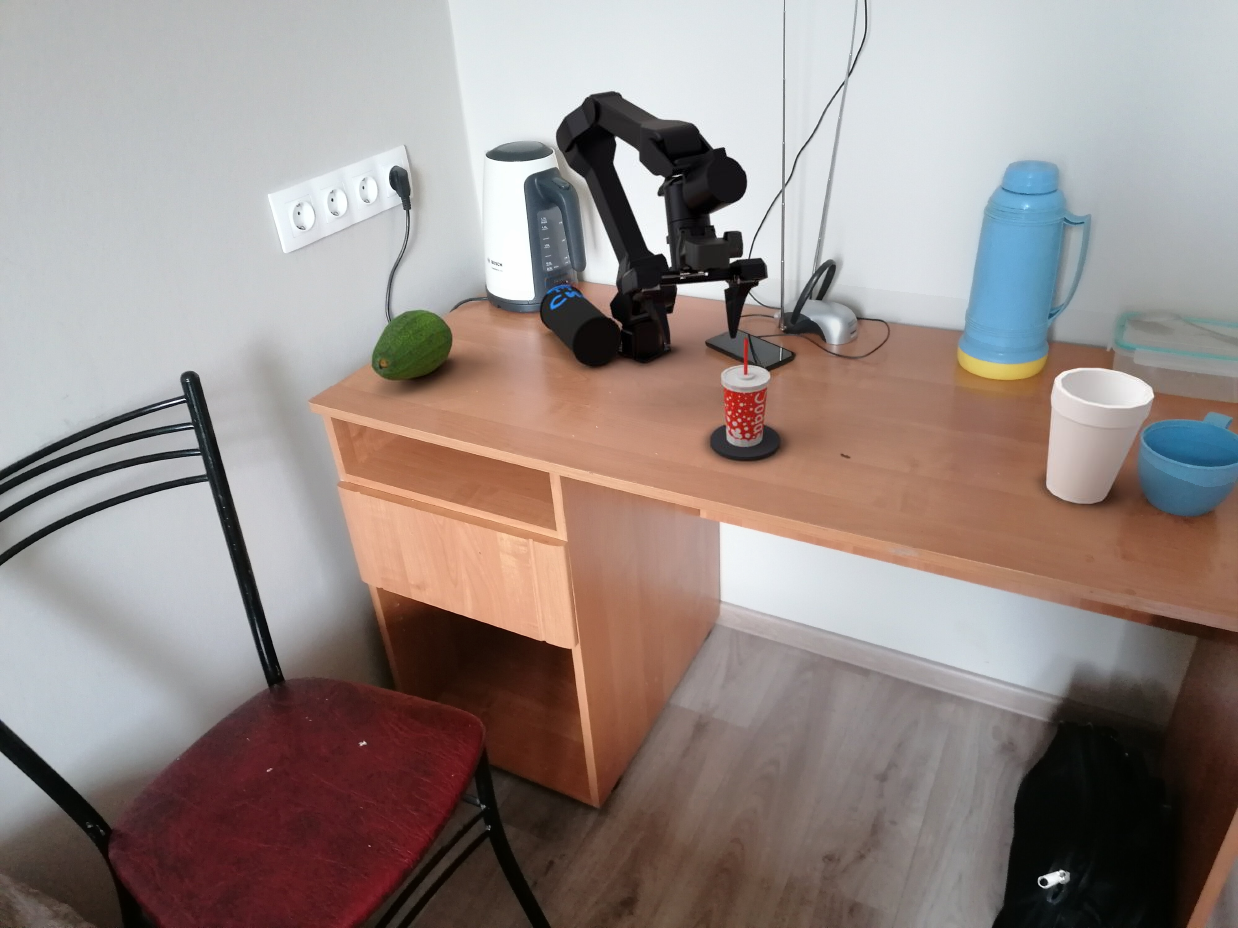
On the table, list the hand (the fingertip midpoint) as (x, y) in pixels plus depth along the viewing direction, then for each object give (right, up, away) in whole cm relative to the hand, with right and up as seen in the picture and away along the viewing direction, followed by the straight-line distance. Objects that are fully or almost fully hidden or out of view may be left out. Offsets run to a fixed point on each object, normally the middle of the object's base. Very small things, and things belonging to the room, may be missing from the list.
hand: (701, 341), depth 113 cm
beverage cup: (+5, -13, -3) cm, 14 cm away
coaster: (+5, -14, -3) cm, 15 cm away
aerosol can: (-14, +2, +17) cm, 22 cm away
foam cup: (+42, -19, -16) cm, 48 cm away
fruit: (-43, -3, +21) cm, 48 cm away
